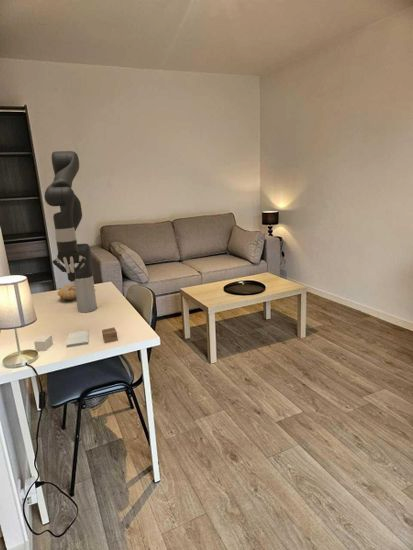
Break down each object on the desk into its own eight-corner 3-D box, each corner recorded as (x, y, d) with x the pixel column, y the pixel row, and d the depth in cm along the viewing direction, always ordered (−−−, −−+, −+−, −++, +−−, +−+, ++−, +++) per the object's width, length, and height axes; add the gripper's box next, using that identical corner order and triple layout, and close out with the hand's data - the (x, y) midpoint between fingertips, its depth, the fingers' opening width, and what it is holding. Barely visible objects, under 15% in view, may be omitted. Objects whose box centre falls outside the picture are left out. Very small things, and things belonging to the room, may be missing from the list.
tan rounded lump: (93, 291, 214) (101, 299, 202) (54, 296, 202) (60, 305, 190) (93, 278, 212) (100, 285, 199) (53, 283, 200) (59, 290, 188)
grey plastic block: (43, 344, 145) (41, 335, 144) (53, 344, 145) (51, 334, 144) (35, 351, 139) (34, 341, 138) (45, 351, 139) (44, 341, 138)
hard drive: (88, 341, 143) (88, 329, 154) (66, 345, 141) (68, 332, 152) (88, 345, 143) (89, 333, 155) (66, 348, 141) (68, 336, 153)
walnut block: (102, 338, 148) (101, 329, 147) (115, 336, 150) (114, 327, 149) (104, 343, 144) (103, 334, 142) (117, 340, 145) (116, 331, 144)
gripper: (84, 236, 148) (90, 277, 152) (50, 238, 145) (57, 280, 150) (82, 239, 140) (88, 282, 145) (46, 242, 138) (53, 285, 143)
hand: (72, 281), depth 148 cm, fingers closed
